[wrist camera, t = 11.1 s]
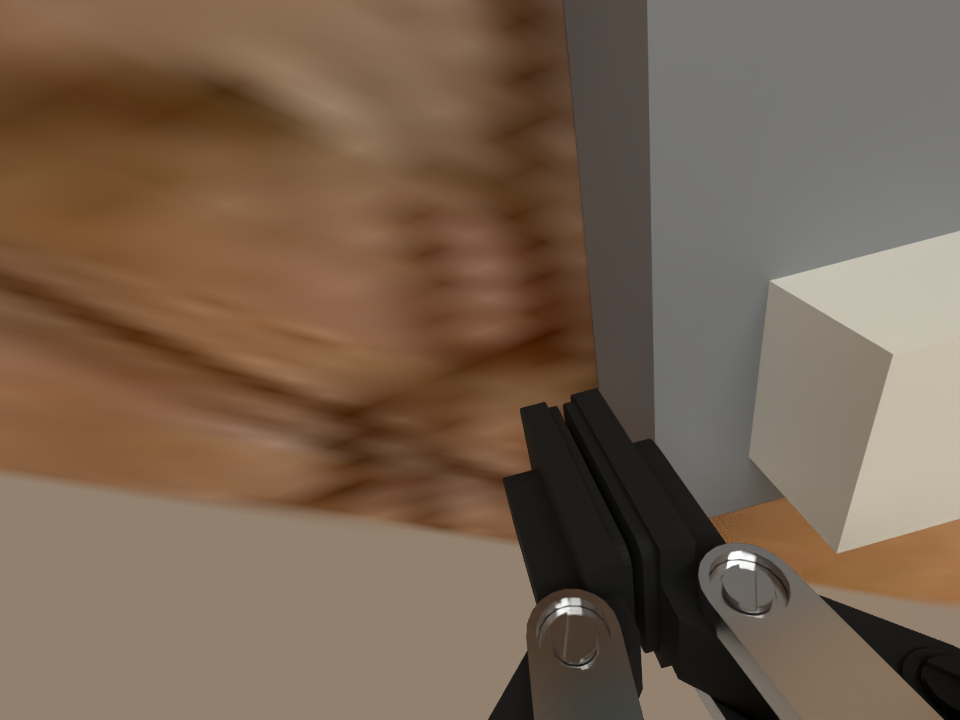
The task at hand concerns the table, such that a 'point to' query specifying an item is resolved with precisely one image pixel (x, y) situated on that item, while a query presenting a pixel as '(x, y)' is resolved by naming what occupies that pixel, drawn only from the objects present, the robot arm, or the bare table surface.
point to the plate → (744, 190)
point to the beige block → (864, 393)
